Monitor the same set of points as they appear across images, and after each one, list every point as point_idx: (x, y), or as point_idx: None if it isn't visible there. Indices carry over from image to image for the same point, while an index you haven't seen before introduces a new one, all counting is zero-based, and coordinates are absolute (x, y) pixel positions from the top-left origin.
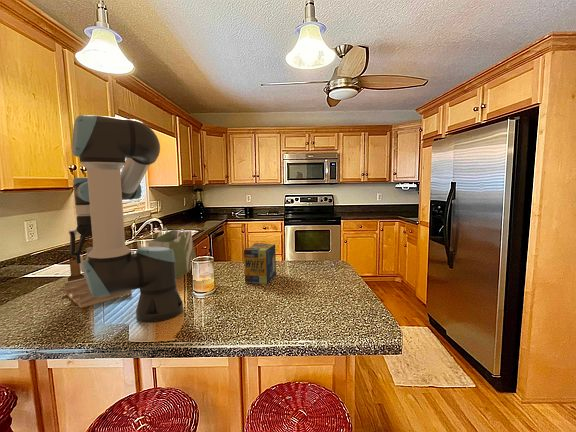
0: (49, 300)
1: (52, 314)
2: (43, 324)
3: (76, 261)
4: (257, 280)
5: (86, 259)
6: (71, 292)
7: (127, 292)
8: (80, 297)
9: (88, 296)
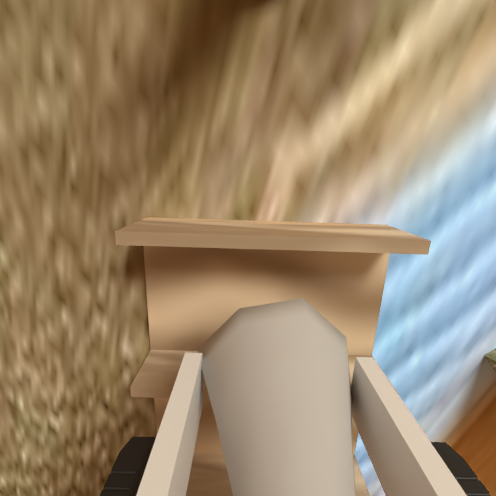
0: (72, 248)
1: (74, 431)
2: (47, 489)
3: (116, 468)
4: None
5: (232, 489)
6: (163, 260)
7: None
8: None
9: None
